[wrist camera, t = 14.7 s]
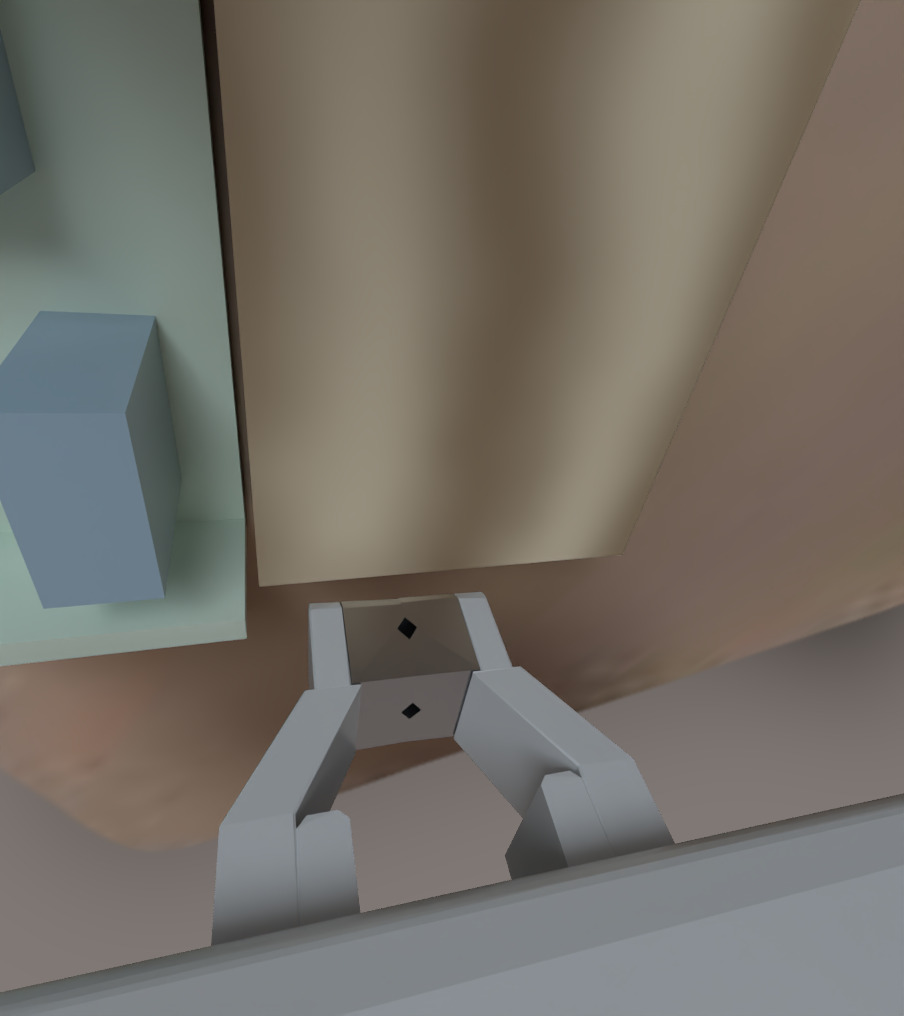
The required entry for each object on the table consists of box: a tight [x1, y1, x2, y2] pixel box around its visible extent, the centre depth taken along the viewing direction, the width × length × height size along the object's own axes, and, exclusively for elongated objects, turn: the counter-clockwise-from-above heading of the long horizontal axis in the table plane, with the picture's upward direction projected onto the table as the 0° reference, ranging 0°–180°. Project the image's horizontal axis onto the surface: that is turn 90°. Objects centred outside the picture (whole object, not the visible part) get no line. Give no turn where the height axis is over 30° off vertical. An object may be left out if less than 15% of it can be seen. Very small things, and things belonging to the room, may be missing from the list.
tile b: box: [0, 311, 182, 609], centre depth 14 cm, size 5×5×2 cm
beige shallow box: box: [214, 0, 861, 587], centre depth 15 cm, size 12×16×4 cm
